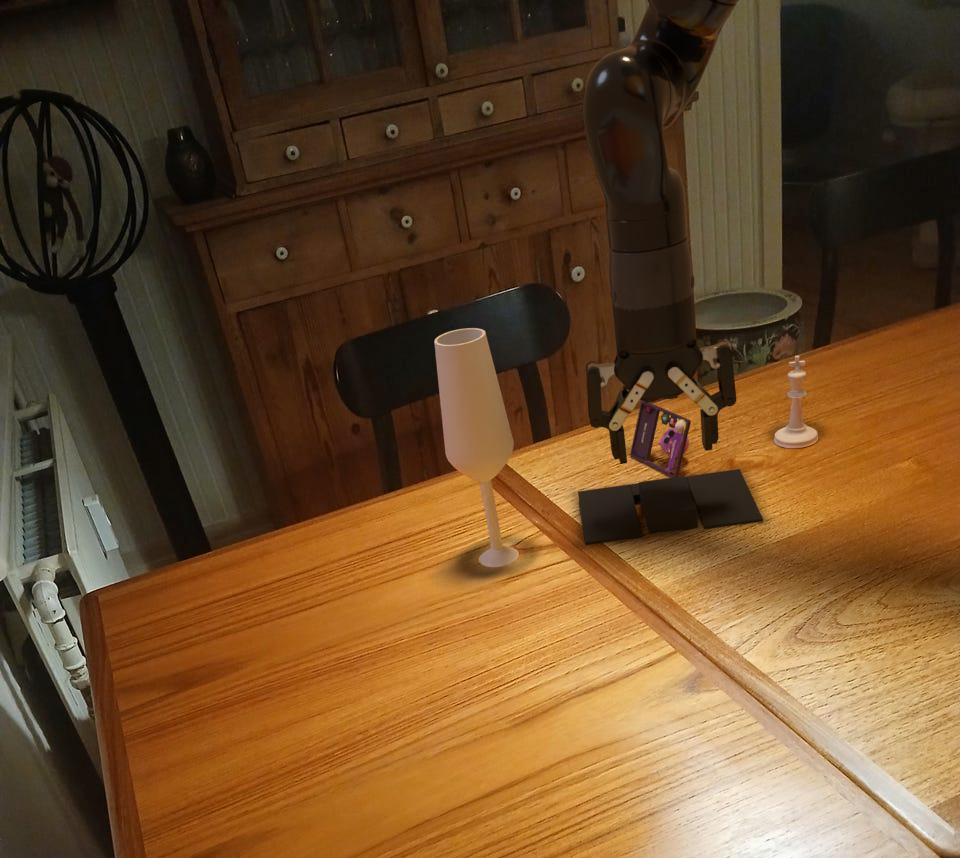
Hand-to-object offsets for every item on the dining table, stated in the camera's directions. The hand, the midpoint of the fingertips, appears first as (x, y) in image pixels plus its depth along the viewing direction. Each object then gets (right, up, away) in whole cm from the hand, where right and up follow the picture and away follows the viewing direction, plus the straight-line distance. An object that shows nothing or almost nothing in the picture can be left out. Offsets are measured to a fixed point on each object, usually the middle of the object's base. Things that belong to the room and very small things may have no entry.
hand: (664, 454), depth 100 cm
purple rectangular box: (+3, +2, +16) cm, 17 cm away
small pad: (+1, -6, +4) cm, 8 cm away
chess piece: (+18, +4, +15) cm, 24 cm away
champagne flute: (-17, -11, +3) cm, 20 cm away
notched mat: (+1, -5, +6) cm, 8 cm away
